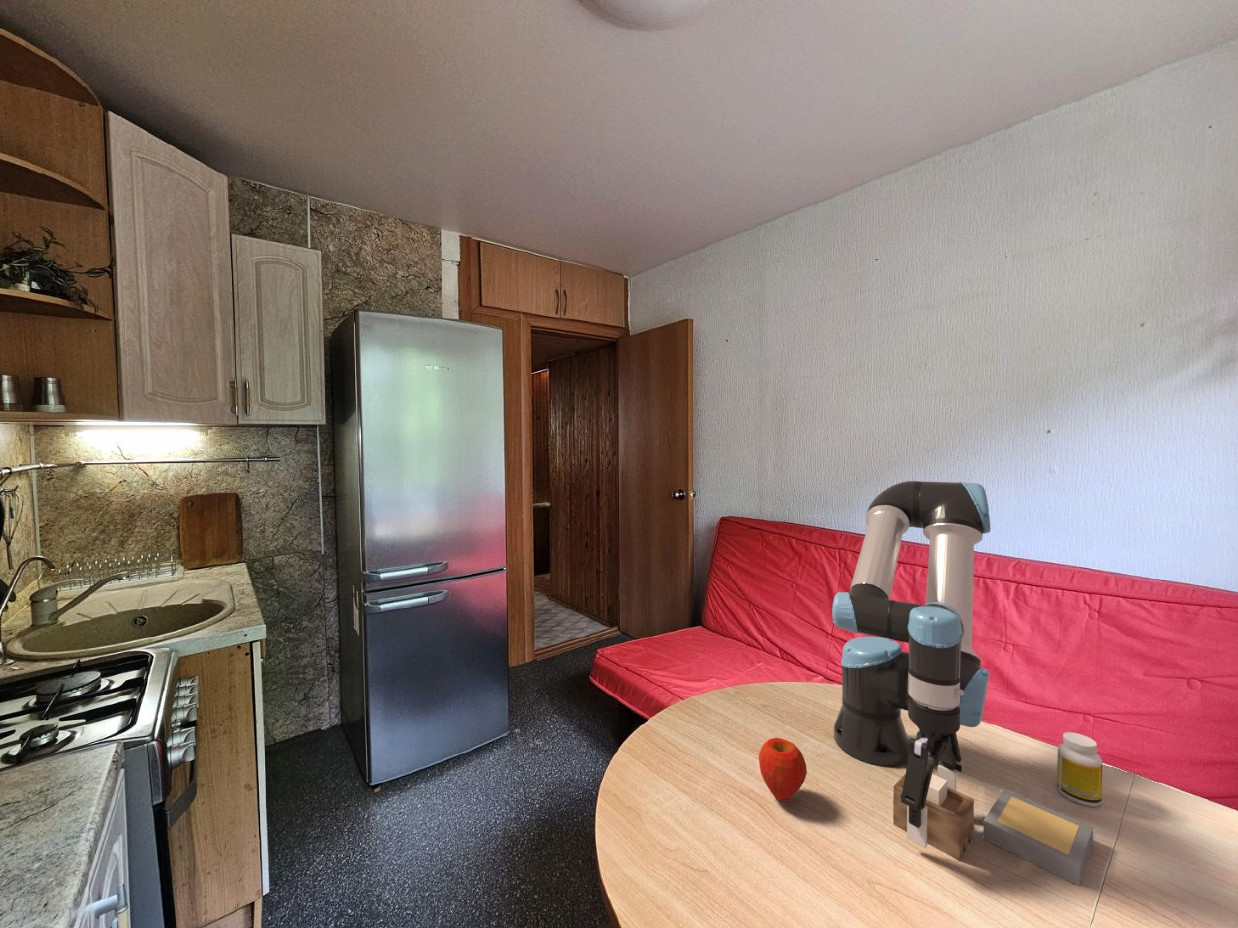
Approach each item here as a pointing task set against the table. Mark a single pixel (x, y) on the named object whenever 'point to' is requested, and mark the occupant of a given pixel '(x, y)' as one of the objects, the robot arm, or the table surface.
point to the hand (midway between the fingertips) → (932, 822)
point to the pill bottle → (1079, 770)
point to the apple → (782, 768)
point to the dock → (1040, 835)
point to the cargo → (937, 790)
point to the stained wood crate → (942, 821)
